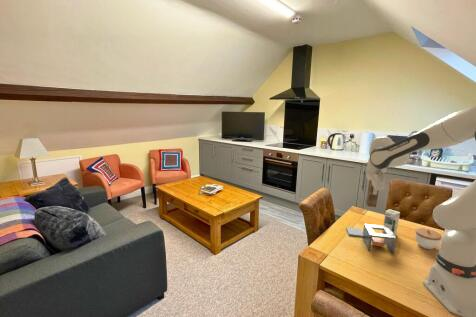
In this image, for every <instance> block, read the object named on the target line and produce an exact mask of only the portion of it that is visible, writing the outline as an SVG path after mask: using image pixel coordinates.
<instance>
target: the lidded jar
mask: <svg viewBox="0 0 476 317" xmlns="http://www.w3.org/2000/svg"><path fill="white" fill-rule="evenodd" d="M414 238H415V241H416V242H417V244H418V245H419V247H421V248H422V249H427V250H433V249H435V248H437V247H438V246H439V245H440V244H441V240H442V235H441V234H440V233H439V232H437V231H436V230H433V229H430V228H425V227H417V228H416V229H415V236H414Z"/></svg>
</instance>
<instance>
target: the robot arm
mask: <svg viewBox="0 0 476 317" xmlns="http://www.w3.org/2000/svg"><path fill="white" fill-rule="evenodd" d="M472 139H474V140H475V141H476V105H474V106H469V107H466V108H463V109H460V110H459V111H456V112H453V113H451V114H449V115H447V116H445V117H443V118H441V119H439V120H437V121H435V122H434V123H432V124H429V125H428V126H427V127H425V128H423V129H421V130H419V131H417V132H416V133H414V134H412V135H410V136H407V137H406V138H403V139H401V140H399V141H397V142H394V141H393V140H392V138H391V137H389V136H377V137H374V138H373V139H372V140H371V142H370V147H369V157H368V159H367V162H366V163H365V167H366V170H365V171H366V172H365V177H366V179H367V181H369V180H371V181H372V186H373V188H374V189H373V191H372V193H373V194H374V195H376V194H377V191H378V190H379V192H380V191H381V192H384V190H385V186H386V176H385V173H387V170H388V169H387V168H393V167H394V168H395V167H401V166H405V165H407V164H408V162H409V161H410V160H411V153H414V152H420V151H428V150H435V149H436V150H437V149H444V148H449V147H452V146H456V145H459V144H461V143H464V142H466V141H468V140H472ZM432 218H433V220H434V222H435V223H436V225H437V226H439V227H440V228H442V229H444V230H446V231H445V232H444V233H443V235H441V240H440V244H439V245H440V246H439V250H437V253H436V255H435V262H434V263H433V264H432V265H431V267H430V268H429V272H428V274H427V278H426V279H424V280H423V281H422V284H423V285H424V286H425V287H426V288H427V289H428V291H429V292H430V293H432V295H433V296H434V297H435V298H436V299H437V300H438V301H439V303H441V305H442V306H444V307H445V308H446V309H447V311H449V312H450V313H453V314H454V315H456V316H459V317H476V179H475V180H474V181H472V183H470V184H469V185H467V186H466V187H464V188H463V189H462V190H460V191H458V192H457V193H455V194H454V195H452V196H451V197H450V198H448V199H447V200H446V201H443V202H441V203H440V204H438V205H436V206H435V207H434V208H433V211H432Z"/></svg>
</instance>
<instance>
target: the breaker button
mask: <svg viewBox="0 0 476 317" xmlns="http://www.w3.org/2000/svg"><path fill="white" fill-rule="evenodd" d="M371 244H372V245H373V246H375V247H383V248H385V245H386V243H385V241H384V238H377V237H372V240H371Z"/></svg>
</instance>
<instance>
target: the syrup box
mask: <svg viewBox="0 0 476 317" xmlns="http://www.w3.org/2000/svg"><path fill="white" fill-rule="evenodd" d="M400 215H401V212H400V211H396V210H392V209H390V208H389V209H387V210H385V212H384V217H383V219H384V220H383V225H382V226H388V227H389V228H390V229H391V231H392V232H393V234H394V235H395V236H397V234H398V227H399V220H400ZM381 233H382V234H385V231H384V230H382V232H381Z"/></svg>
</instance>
